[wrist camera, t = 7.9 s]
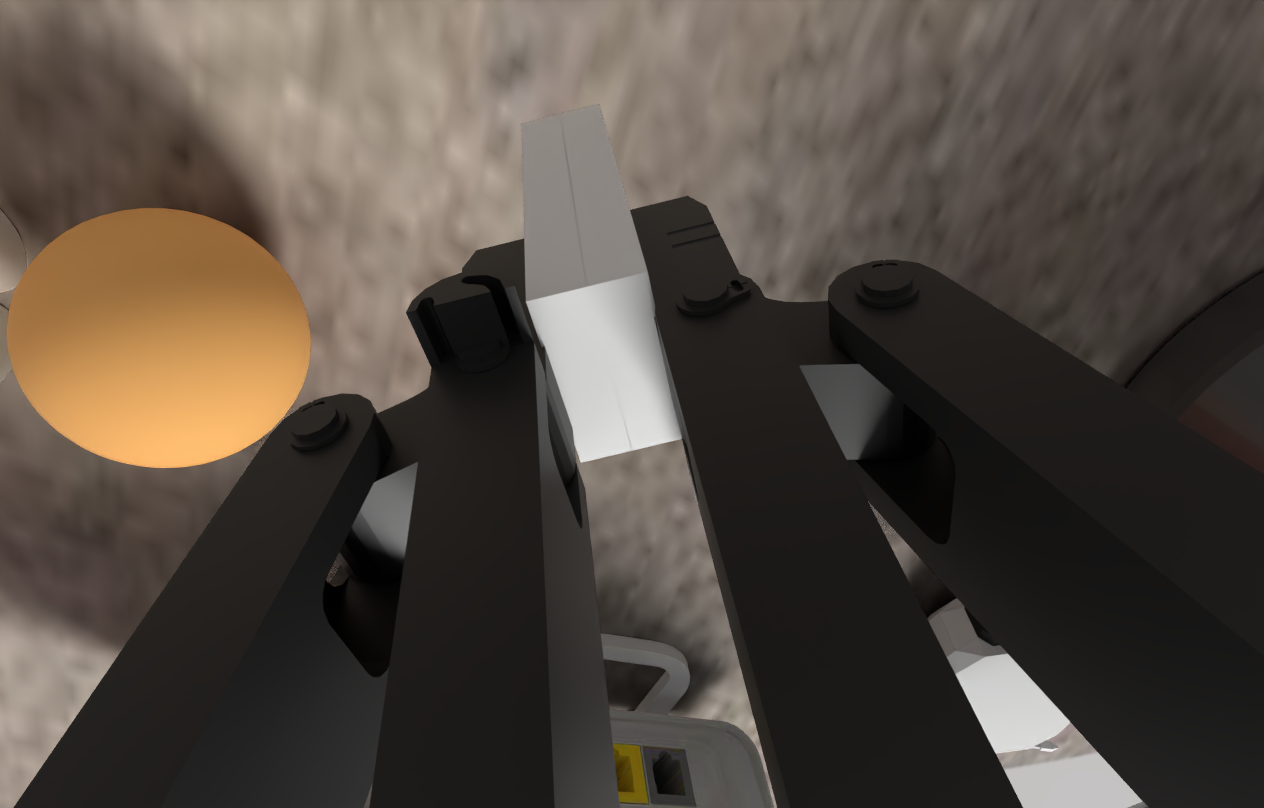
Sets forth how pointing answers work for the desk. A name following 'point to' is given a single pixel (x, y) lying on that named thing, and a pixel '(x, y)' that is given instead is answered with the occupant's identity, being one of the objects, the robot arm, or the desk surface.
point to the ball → (158, 337)
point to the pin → (4, 345)
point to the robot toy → (996, 684)
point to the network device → (677, 743)
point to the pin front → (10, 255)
